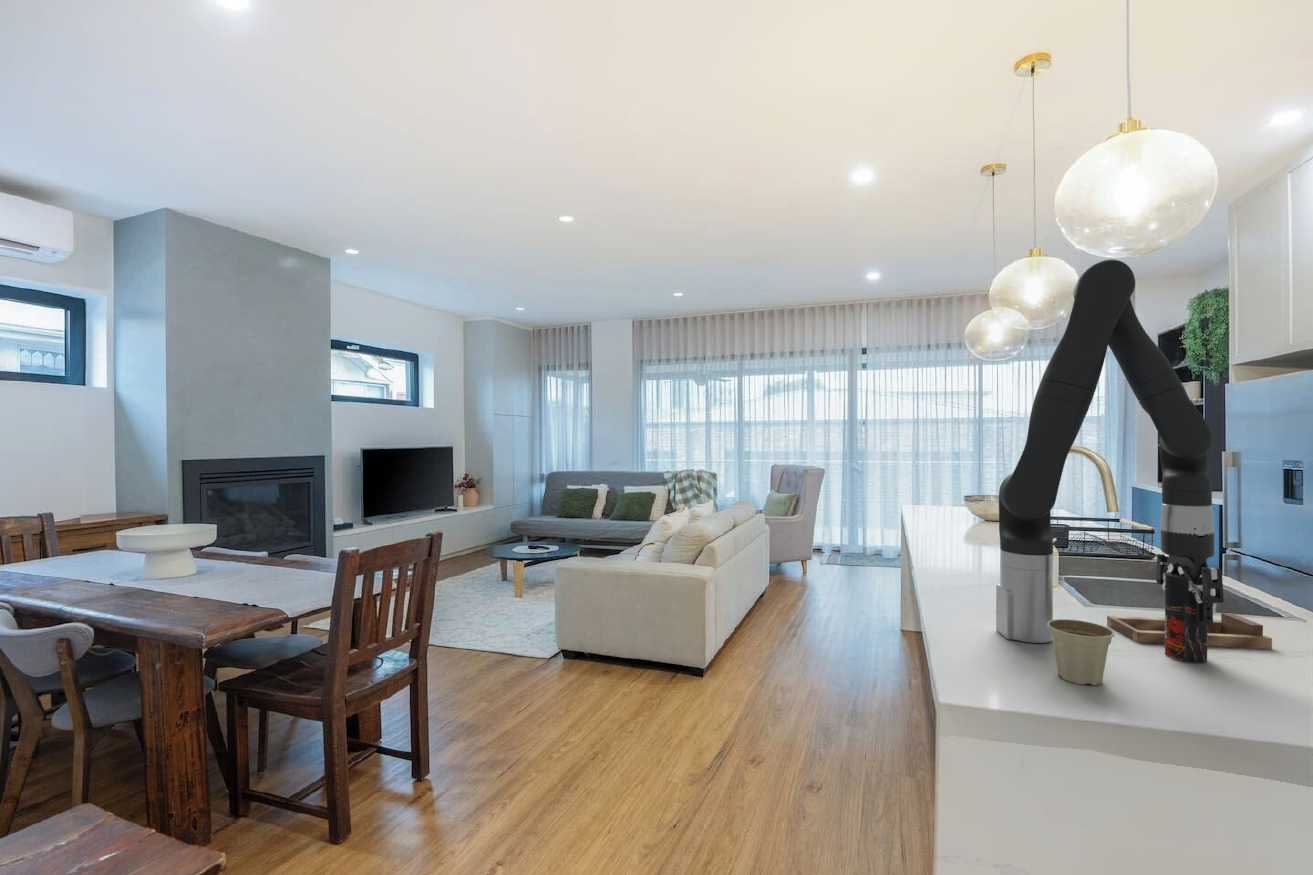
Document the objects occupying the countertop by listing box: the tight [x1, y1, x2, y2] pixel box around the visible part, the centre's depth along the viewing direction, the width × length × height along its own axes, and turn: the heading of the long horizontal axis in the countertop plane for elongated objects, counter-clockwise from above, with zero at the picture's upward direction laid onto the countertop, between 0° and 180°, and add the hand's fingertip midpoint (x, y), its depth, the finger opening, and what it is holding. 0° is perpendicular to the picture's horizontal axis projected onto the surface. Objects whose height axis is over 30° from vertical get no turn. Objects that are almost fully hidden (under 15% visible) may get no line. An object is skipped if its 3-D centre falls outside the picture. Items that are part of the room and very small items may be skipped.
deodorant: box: [1164, 572, 1208, 664], centre depth 115 cm, size 6×6×15 cm
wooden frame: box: [1106, 612, 1273, 650], centre depth 127 cm, size 23×11×4 cm, turn 80°
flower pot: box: [1047, 618, 1116, 686], centre depth 106 cm, size 9×9×9 cm
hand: (1188, 617), depth 115 cm, fingers open, 8 cm apart
